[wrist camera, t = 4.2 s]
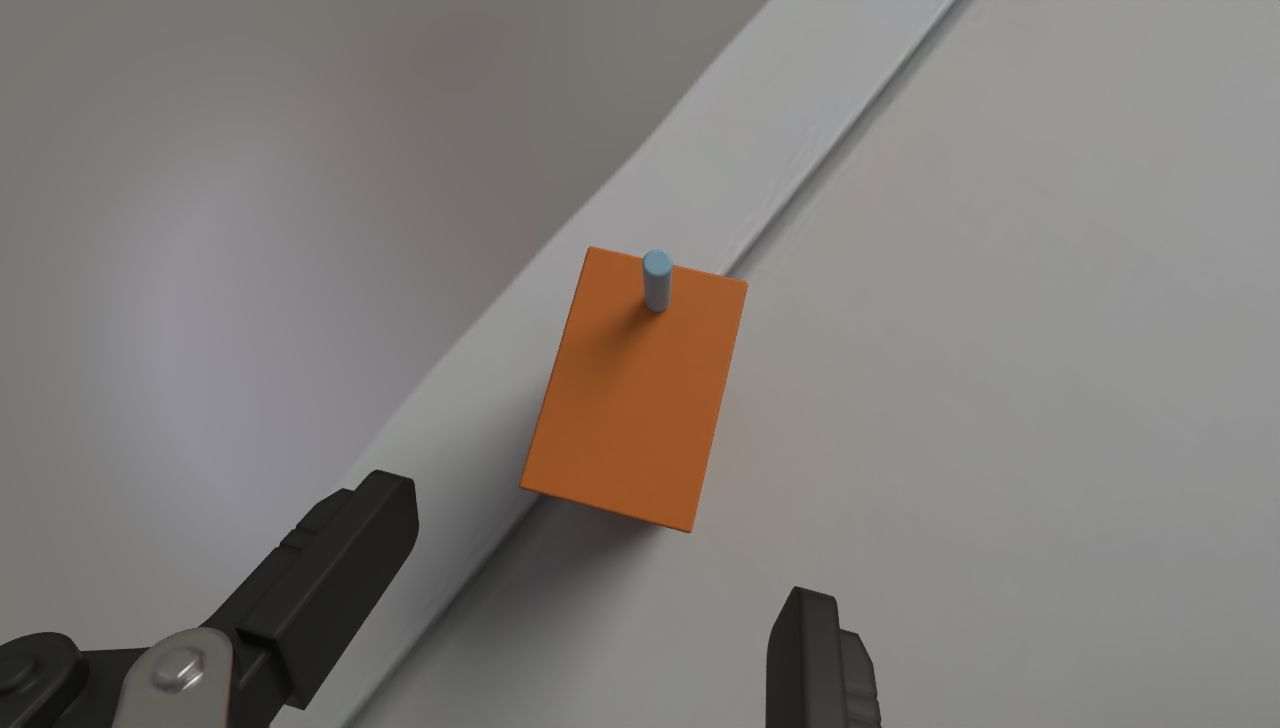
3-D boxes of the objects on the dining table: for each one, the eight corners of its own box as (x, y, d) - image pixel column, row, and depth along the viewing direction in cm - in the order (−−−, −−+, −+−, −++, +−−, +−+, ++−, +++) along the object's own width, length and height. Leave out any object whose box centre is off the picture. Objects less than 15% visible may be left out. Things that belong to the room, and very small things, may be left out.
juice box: (575, 484, 21) (484, 489, 10) (616, 337, 22) (573, 195, 11) (677, 511, 21) (698, 547, 10) (713, 360, 22) (768, 238, 11)
